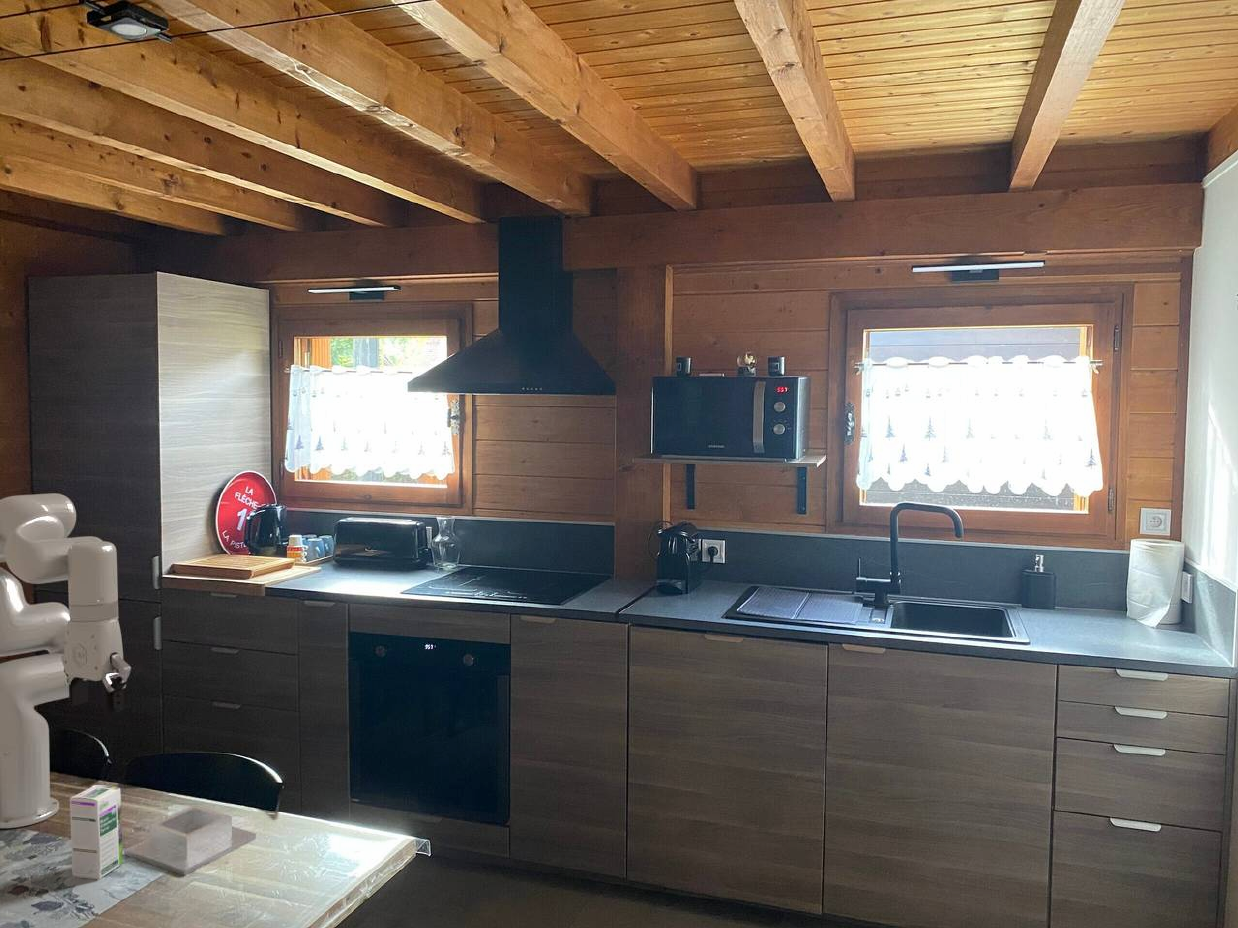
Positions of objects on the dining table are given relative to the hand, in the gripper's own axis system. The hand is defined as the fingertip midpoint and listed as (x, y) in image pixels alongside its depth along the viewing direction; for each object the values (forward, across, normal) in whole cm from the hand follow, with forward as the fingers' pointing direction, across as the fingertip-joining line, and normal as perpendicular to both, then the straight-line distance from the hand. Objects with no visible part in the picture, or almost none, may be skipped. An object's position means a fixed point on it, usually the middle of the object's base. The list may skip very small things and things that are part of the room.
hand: (96, 708), depth 165 cm
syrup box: (+30, -1, 0) cm, 30 cm away
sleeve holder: (+30, +6, +14) cm, 33 cm away
